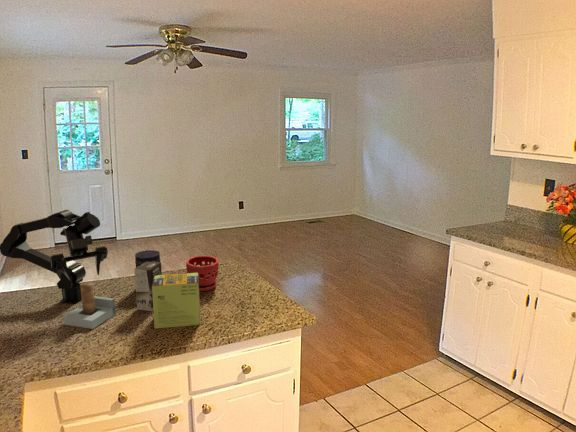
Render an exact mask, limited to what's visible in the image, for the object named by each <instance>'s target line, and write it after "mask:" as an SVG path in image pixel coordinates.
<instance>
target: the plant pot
mask: <svg viewBox="0 0 576 432" xmlns="http://www.w3.org/2000/svg"><path fill="white" fill-rule="evenodd" d="M203 262H204V263H203ZM185 264H186V265H185V267H186V273H198V280H199V292H206V291H210V290H212V289H214V288H215V287H216V286H217V285H218V284H217V283H218V282H217V278H218V274H219V260H218V258H217V257H215V256H212V255H211V256H210V255H198V256H192V257H189V258H188V259H187V260H186V263H185Z"/></svg>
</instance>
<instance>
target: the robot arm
mask: <svg viewBox="0 0 576 432" xmlns="http://www.w3.org/2000/svg"><path fill="white" fill-rule="evenodd" d="M100 226H101V221H100V219H99V217H97V216H96V215H94V214H92V213H91V212H90V211H87V212H84V213H83V214H81V216H80V215H78V214H75V213H74V212H72V211H71V210H69V209H64V210H63V209H62V210H60V211H59V212H58V211H57V212H55V213H53V214H51V215H48V216H46V217H44V218H43V217H42V218H40V219H39V218H38V219H35V220H34V219H33V220H31V221H27V222H20V223H17V224H14V225H13V226H12V227H11V228H10V231H9V233H8V234H7V235H6V236H5V237H4V239H3V240H2V242H1V243H0V254H1V256H4V257H7V258H10V259H18V260H19V259H21V260H24V261H27V262H29V263H32V264H34V265H35V266H39V267H41V268H43V269H45V270H47V271H50V272H52V273H54V274H56V275H57V277H58V279H59V281H58V282H56V286H57V288H58V289H59V290H60V289H61V295H62V299H59V302H60V303H66V304H76V303H77V302H79V301H82V296H81V287H80V285H81V282H82V283H83V281H84V278H85V277H86V273H87V272H86V269H85V268H86V267H84V265H82V263H80V262H77V261H78V260H83V259H88V258H94V259H95V260H94V262H95V269H96V275H97V276H99V275H100V267H101V263H102V262H104V260H106V259H107V257H108V253H109V250H108V248H107V247H106V246H105V245H102V246H98V247H97V246H96V247H94V250H93V251H89V248H88V246H90V245H91V246H92V245H93V238H92V235H89V234H91V232H93V231H94V230H96V229H98V228H99V227H100ZM65 227H66V228H65ZM62 228H63V229H62ZM43 229H62V230H61V231H60V233H59V234H60V235H61V236H64V237H65V238H66V242H67V247H68V251H69V255H64V253H63V252H62V253H57V254H52V255H51V256H50V255H48V254H45V253H43V252H41V251H39V250H37V249H34V248H32V247H31V246H30V245H29V244H28V242H27V240H28V233H30V232H35V231H39V230H43ZM84 235H86V236H85V237H84Z"/></svg>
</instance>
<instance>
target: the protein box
mask: <svg viewBox="0 0 576 432" xmlns="http://www.w3.org/2000/svg"><path fill="white" fill-rule="evenodd" d="M152 296H153V326H154V327H153V328H154V329H163V328H166V329H167V328H178V327H188V326H189V327H191V326H199V325H201V305H200V291H199V280H198V273H187V272H186V273H171V274H162V275H157V276H154V281H153V284H152Z"/></svg>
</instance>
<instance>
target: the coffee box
mask: <svg viewBox="0 0 576 432" xmlns="http://www.w3.org/2000/svg"><path fill="white" fill-rule="evenodd" d="M157 275H163V272H162V262H161V261H160V262H147V261H146V262H145V263H143V264H142V265H140V266H138V267H137V268H136V267H134V280H135V281H134V282H135V297H136V299H135V300H136V310H139V311H148V312H152V311H153V296H152V284H153V281H154V276H157Z"/></svg>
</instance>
